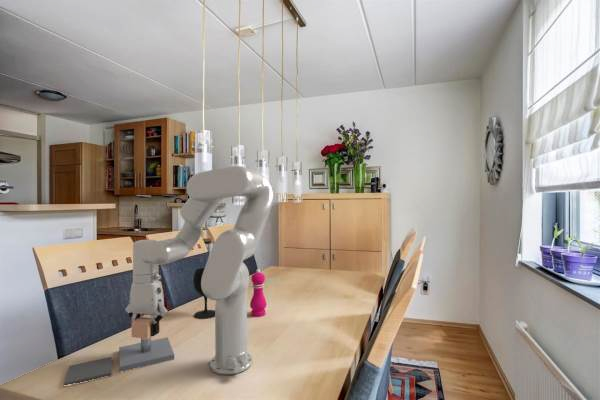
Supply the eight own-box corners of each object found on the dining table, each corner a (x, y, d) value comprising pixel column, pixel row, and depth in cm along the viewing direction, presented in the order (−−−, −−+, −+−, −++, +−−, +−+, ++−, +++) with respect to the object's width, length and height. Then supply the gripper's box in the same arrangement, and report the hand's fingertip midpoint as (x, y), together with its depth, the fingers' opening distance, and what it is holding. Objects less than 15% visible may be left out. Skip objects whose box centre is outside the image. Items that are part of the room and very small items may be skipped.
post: (151, 351, 101) (151, 326, 101) (141, 353, 100) (141, 328, 100) (150, 347, 104) (150, 323, 104) (140, 349, 102) (140, 325, 102)
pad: (111, 375, 90) (111, 372, 90) (63, 387, 84) (63, 383, 84) (111, 359, 99) (111, 356, 99) (69, 369, 94) (69, 365, 94)
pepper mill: (263, 317, 135) (263, 271, 135) (247, 316, 136) (247, 270, 136) (268, 312, 142) (268, 267, 142) (253, 311, 143) (253, 267, 143)
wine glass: (209, 309, 146) (208, 266, 147) (222, 314, 140) (222, 269, 140) (188, 315, 138) (188, 270, 139) (202, 320, 132) (202, 273, 132)
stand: (174, 359, 99) (174, 354, 99) (119, 372, 92) (119, 367, 92) (167, 341, 112) (167, 337, 112) (119, 351, 104) (119, 347, 105)
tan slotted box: (160, 331, 104) (160, 315, 104) (147, 338, 98) (147, 322, 98) (145, 329, 106) (145, 314, 106) (131, 337, 100) (131, 320, 100)
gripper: (176, 276, 104) (176, 331, 103) (132, 274, 108) (133, 327, 108) (160, 282, 96) (161, 341, 96) (114, 279, 101) (115, 336, 100)
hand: (146, 333), depth 102 cm, fingers closed on tan slotted box, 5 cm apart
